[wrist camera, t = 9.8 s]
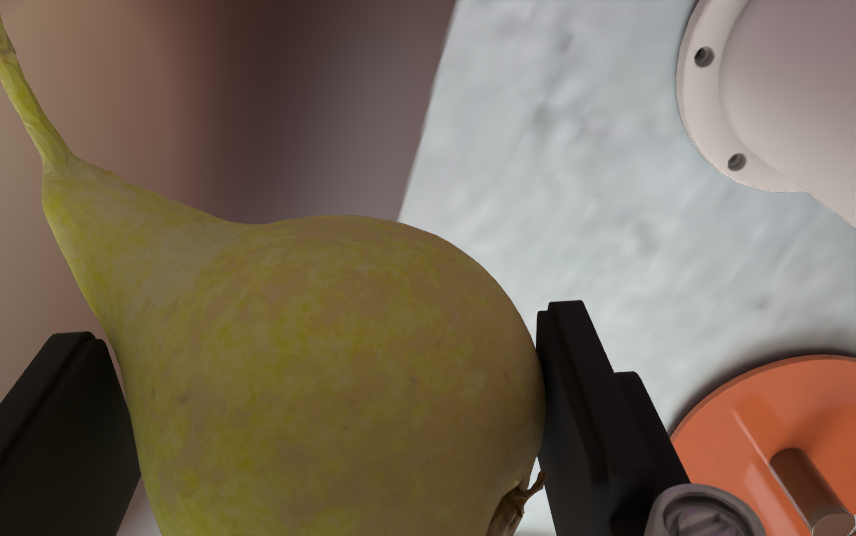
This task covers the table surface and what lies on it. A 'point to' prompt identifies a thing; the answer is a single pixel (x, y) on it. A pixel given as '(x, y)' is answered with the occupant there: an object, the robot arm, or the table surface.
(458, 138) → the table surface
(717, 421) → the lid
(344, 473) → the fruit
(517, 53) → the table surface
